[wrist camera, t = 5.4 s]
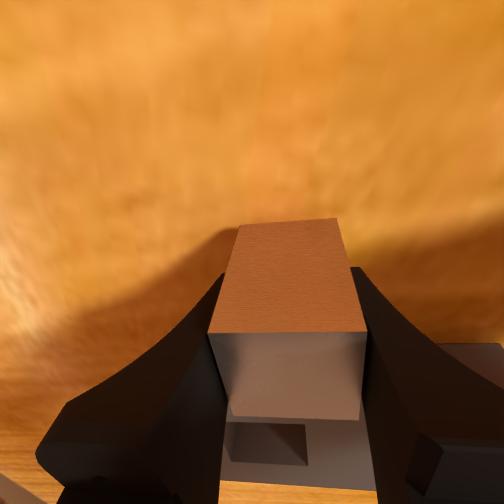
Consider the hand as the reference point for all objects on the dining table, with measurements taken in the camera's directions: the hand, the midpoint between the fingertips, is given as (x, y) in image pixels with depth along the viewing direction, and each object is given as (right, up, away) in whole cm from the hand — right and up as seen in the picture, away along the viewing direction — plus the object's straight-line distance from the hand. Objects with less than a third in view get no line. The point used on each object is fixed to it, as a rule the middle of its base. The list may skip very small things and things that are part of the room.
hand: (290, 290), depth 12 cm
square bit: (0, +1, +2) cm, 2 cm away
